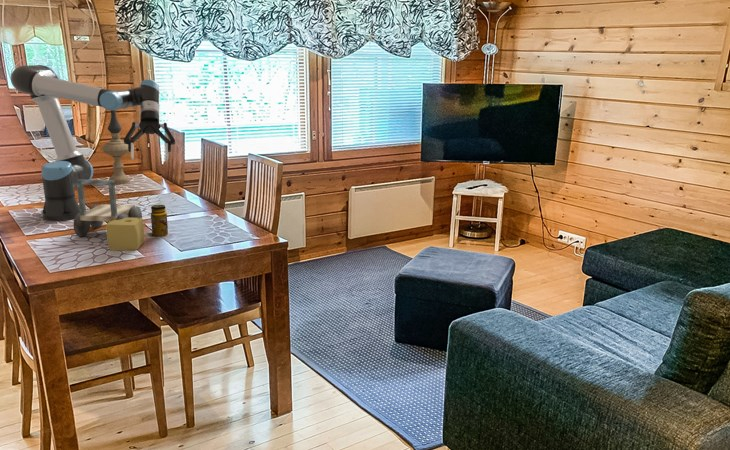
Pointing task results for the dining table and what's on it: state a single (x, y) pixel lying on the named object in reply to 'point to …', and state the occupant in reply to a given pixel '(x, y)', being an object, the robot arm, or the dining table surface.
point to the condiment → (158, 222)
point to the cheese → (125, 234)
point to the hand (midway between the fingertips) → (149, 158)
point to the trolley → (100, 209)
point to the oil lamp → (116, 150)
